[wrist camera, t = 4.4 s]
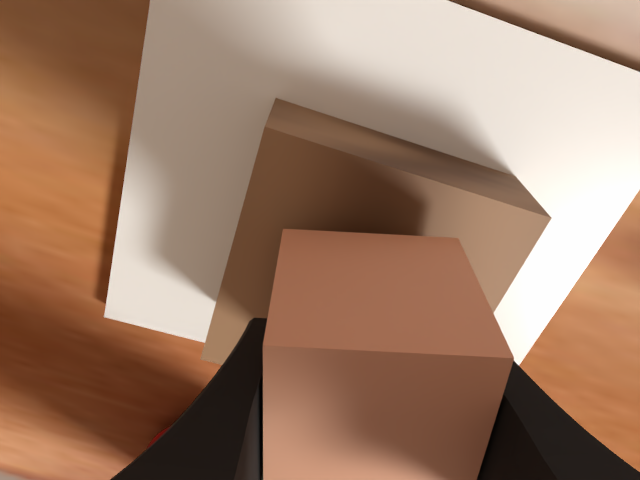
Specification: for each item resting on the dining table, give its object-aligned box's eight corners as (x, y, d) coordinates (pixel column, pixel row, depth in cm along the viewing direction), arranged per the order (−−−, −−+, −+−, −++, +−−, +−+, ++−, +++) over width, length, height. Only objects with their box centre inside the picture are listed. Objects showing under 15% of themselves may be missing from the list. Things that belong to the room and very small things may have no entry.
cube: (457, 238, 13) (513, 357, 9) (430, 369, 15) (466, 513, 11) (283, 228, 13) (262, 345, 9) (280, 362, 15) (263, 503, 11)
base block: (515, 176, 16) (551, 218, 14) (416, 356, 20) (430, 416, 17) (275, 97, 15) (264, 126, 13) (218, 303, 19) (200, 359, 16)
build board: (691, 91, 15) (703, 95, 15) (481, 403, 22) (485, 414, 21) (171, -102, 13) (165, -105, 13) (109, 307, 20) (103, 317, 19)
